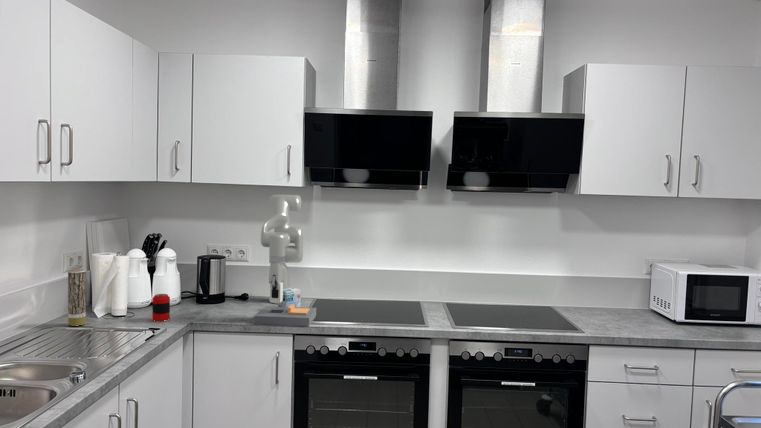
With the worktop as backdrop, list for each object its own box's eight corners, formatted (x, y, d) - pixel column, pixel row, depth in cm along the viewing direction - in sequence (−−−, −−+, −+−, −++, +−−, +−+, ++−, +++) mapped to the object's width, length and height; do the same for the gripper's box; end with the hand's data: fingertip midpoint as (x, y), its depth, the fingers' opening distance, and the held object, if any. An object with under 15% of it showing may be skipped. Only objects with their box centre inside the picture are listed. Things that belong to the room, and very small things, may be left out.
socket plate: (265, 313, 263) (265, 305, 263) (316, 315, 262) (316, 307, 261) (254, 324, 243) (254, 315, 243) (308, 326, 242) (309, 318, 241)
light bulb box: (286, 312, 266) (286, 292, 265) (277, 310, 270) (277, 290, 269) (301, 309, 275) (301, 289, 274) (292, 307, 279) (292, 287, 278)
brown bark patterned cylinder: (66, 327, 229) (65, 271, 228) (70, 323, 236) (70, 269, 234) (83, 327, 231) (83, 271, 229) (87, 323, 237) (87, 269, 236)
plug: (272, 300, 254) (272, 277, 254) (282, 300, 254) (283, 278, 254) (269, 302, 249) (270, 279, 249) (280, 302, 249) (280, 280, 249)
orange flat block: (291, 309, 256) (291, 303, 256) (309, 310, 256) (309, 304, 256) (287, 313, 247) (287, 308, 247) (306, 314, 247) (306, 308, 247)
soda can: (152, 322, 241) (152, 297, 240) (152, 318, 248) (152, 293, 247) (169, 321, 244) (169, 296, 243) (169, 317, 251) (169, 293, 250)
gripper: (273, 257, 259) (273, 292, 260) (264, 261, 242) (264, 300, 243) (288, 257, 259) (288, 293, 260) (280, 262, 242) (279, 300, 243)
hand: (276, 296), depth 252 cm, fingers closed on plug, 5 cm apart
